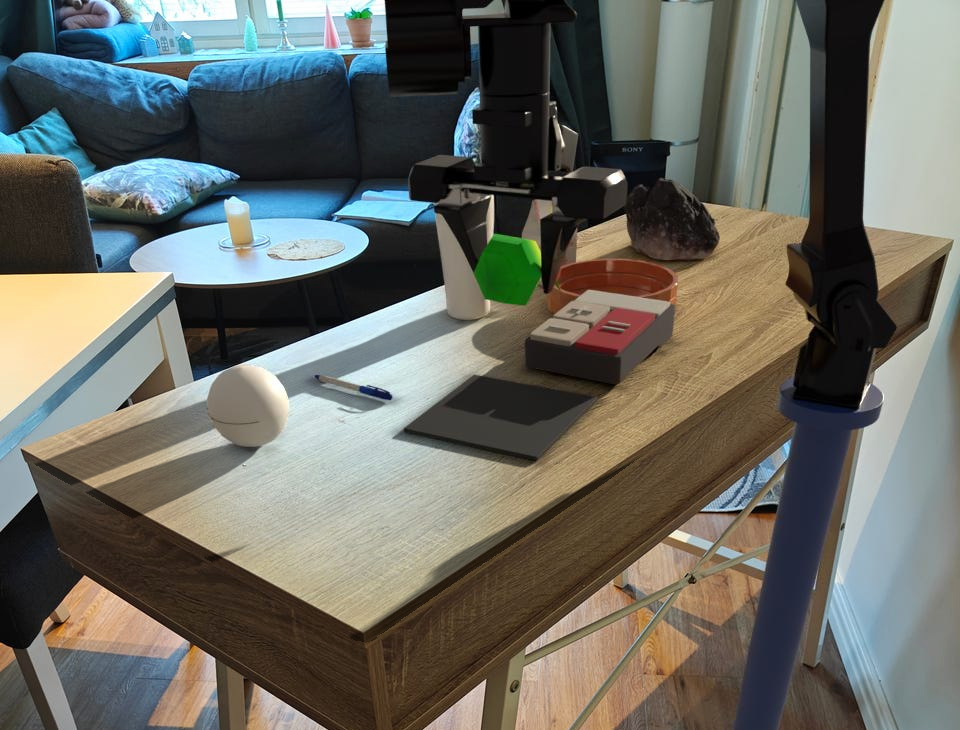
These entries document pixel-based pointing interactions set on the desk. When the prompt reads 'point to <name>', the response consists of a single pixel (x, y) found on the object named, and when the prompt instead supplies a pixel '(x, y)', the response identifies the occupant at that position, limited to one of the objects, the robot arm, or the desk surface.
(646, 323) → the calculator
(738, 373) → the desk surface
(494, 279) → the green polyhedron
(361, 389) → the ballpoint pen
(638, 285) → the bowl
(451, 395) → the mat
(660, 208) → the crystal cluster
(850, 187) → the robot arm
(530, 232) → the white gabled box
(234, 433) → the seamed sphere
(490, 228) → the drinking glass
